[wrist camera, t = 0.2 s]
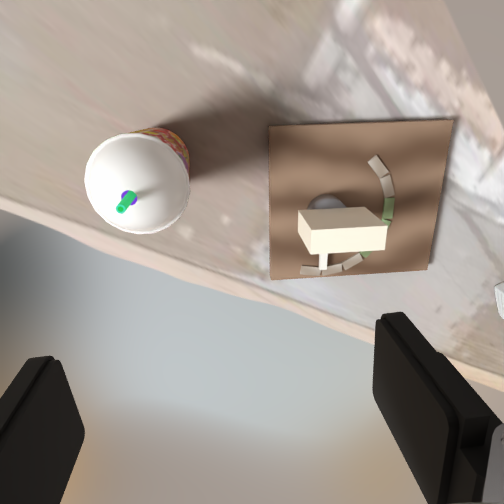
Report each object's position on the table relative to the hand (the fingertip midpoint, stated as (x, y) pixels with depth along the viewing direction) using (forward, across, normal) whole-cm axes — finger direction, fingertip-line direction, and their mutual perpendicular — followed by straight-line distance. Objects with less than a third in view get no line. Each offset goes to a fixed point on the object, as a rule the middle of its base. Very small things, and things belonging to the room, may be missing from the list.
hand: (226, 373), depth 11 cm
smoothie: (+36, +6, -1) cm, 37 cm away
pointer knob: (+34, -12, +10) cm, 38 cm away
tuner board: (+36, -16, +7) cm, 40 cm away
